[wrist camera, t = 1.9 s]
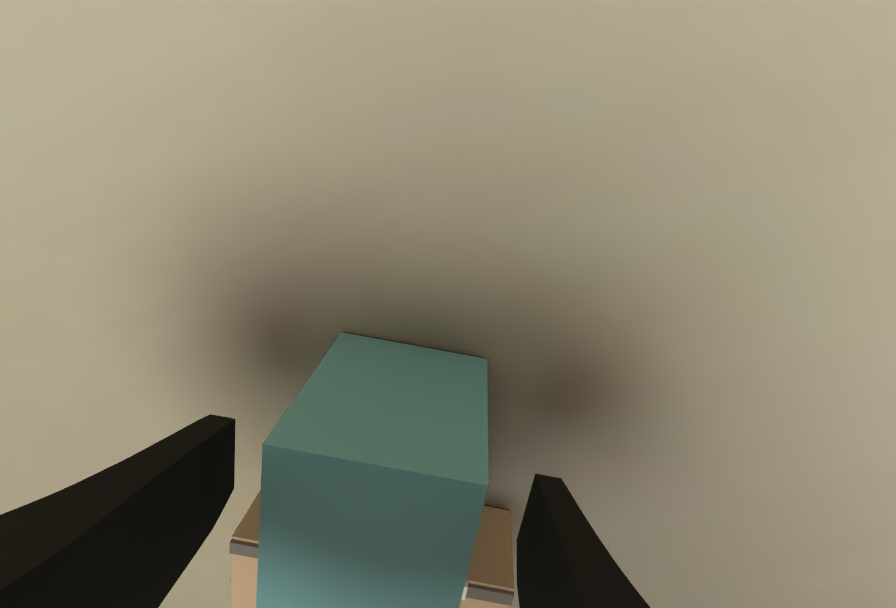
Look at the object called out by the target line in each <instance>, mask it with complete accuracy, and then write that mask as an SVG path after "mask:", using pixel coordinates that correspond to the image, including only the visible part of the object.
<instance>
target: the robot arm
mask: <svg viewBox="0 0 896 608" xmlns="http://www.w3.org/2000/svg"><path fill="white" fill-rule="evenodd" d="M234 462H235V419H232V418H227V417H221V416H216V415H208V416H206V417H204V418H202V419H200V420H198V421H196V422H194V423H192V424H190V425H189V426H187V427H185V428H183V429H181V430H179V431H178V432H176V433H174V434H172V435H170V436H168V437H167V438H165V439H163V440H161V441H159V442H157V443H155V444H154V445H152V446H150V447H148V448H146V449H144V450H142V451H140V452H138V453H137V454H135V455H133V456H131V457H129V458H127V459H125V460H123V461H121V462H119V463H117V464H115V465H113V466H111V467H109V468H107V469H105V470H103V471H101V472H99V473H97V474H94V475H92V476H90V477H88V478H86V479H84V480H82V481H80V482H78V483H76V484H74V485H72V486H69V487H67V488H65V489H63V490H60V491H58V492H56V493H53V494H51V495H49V496H47V497H44V498H42V499H39V500H37V501H34V502H32V503H29V504H27V505H24V506H22V507H19V508H17V509H14V510H12V511H9V512H7V513H4V514H1V515H0V608H158V607H159V606H160V604H161V603H162V601H163V600H164V598H165V597H166V596H167V594H168V593H169V591H170V590H171V588H172V587H173V585H174V584H175V583H176V581H177V580H178V578H179V577H180V575H181V574H182V573H183V571H184V570H185V568H186V567H187V565H188V564H189V563H190V561H191V560H192V558H193V557H194V555H195V554H196V552H197V551H198V549H199V548H200V547H201V545H202V544H203V542H204V541H205V539H206V538H207V536H208V535H209V533H210V532H211V530H212V529H213V527H214V525H215V524H216V522H217V520H218V518H219V516H220V514H221V512H222V511H223V509H224V507H225V505H226V503H227V501H228V499H229V497H230V495H231V493H232V491H233V489H234ZM517 588H518V597H519V606H520V608H650V607H649V605H648V604H647V603H646V602H645V600H644V599H643V598H642V597H641V596H640V594H639V593H638V592H637V590H636V589H635V588H634V587H633V585H632V584H631V583H630V581H629V580H628V579H627V577H626V576H625V575H624V573H623V572H622V571H621V569H620V568H619V567H618V565H617V564H616V562H615V561H614V560H613V558H612V557H611V555H610V554H609V552H608V551H607V549H606V548H605V546H604V545H603V543H602V542H601V540H600V539H599V538H598V536H597V535H596V533H595V532H594V530H593V528H592V527H591V525H590V524H589V522H588V521H587V519H586V517H585V516H584V514H583V513H582V511H581V510H580V508H579V506H578V505H577V503H576V501H575V500H574V498H573V497H572V495H571V493H570V492H569V490H568V488H567V487H566V485H565V484H564V482H563V481H562V479H561V478H556V477H550V476H545V475H540V474H535V477H534V481H533V484H532V488H531V491H530V495H529V498H528V502H527V505H526V509H525V513H524V516H523V520H522V523H521V527H520V530H519V534H518V538H517Z"/></svg>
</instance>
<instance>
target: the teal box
mask: <svg viewBox="0 0 896 608" xmlns="http://www.w3.org/2000/svg"><path fill="white" fill-rule="evenodd" d="M488 486H489V470H488V375H487V359H485V358H480V357H474V356H469V355H463V354H458V353H452V352H447V351H441V350H436V349H430V348H425V347H419V346H414V345H408V344H403V343H397V342H392V341H387V340H381V339H376V338H370V337H365V336H359V335H354V334H348V333H343V332H341V333H340V334H339V336H338V337H337V339H336V340H335V342H334V343H333V344H332V346H331V347H330V349H329V350H328V352H327V353H326V354H325V356H324V357H323V359H322V360H321V362H320V363H319V364H318V366H317V367H316V369H315V370H314V372H313V373H312V374H311V376H310V377H309V379H308V380H307V382H306V383H305V385H304V386H303V387H302V389H301V390H300V392H299V393H298V395H297V396H296V397H295V399H294V400H293V402H292V403H291V405H290V406H289V407H288V409H287V410H286V412H285V413H284V415H283V416H282V417H281V419H280V420H279V422H278V423H277V425H276V426H275V427H274V429H273V430H272V432H271V433H270V435H269V436H268V437H267V439H266V440H265V442H264V443H263V454H262V477H261V500H260V523H259V546H258V569H257V592H256V608H459V607H460V603H461V598H462V594H463V590H464V586H465V582H466V578H467V573H468V569H469V565H470V561H471V557H472V553H473V549H474V544H475V540H476V536H477V532H478V528H479V524H480V520H481V515H482V511H483V507H484V503H485V499H486V495H487V490H488Z"/></svg>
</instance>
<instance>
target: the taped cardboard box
mask: <svg viewBox="0 0 896 608" xmlns="http://www.w3.org/2000/svg"><path fill="white" fill-rule="evenodd" d="M260 500H261V490H260V492H259V493H258V495H257V497H256V498H255V500H254V501H253V503H252V505H251V506H250V508H249V510H248V511H247V513H246V514H245V516H244V518H243V519H242V521H241V522H240V524H239V526H238V527H237V529H236V531H235V532H234V534H233V535H232V540H231V541H230V554H232V558H231V608H256V592H257V569H258V546H259V523H260ZM513 597H514V575H513V559H512V543H511V528H510V512H509V510H505V509H499V508H494V507H488V506H484V507H483V511H482V515H481V520H480V524H479V528H478V532H477V536H476V540H475V544H474V549H473V553H472V557H471V561H470V565H469V569H468V573H467V578H466V582H465V586H464V590H463V594H462V598H461V603H460V607H459V608H509V606H511V604H512V600H513Z"/></svg>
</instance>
